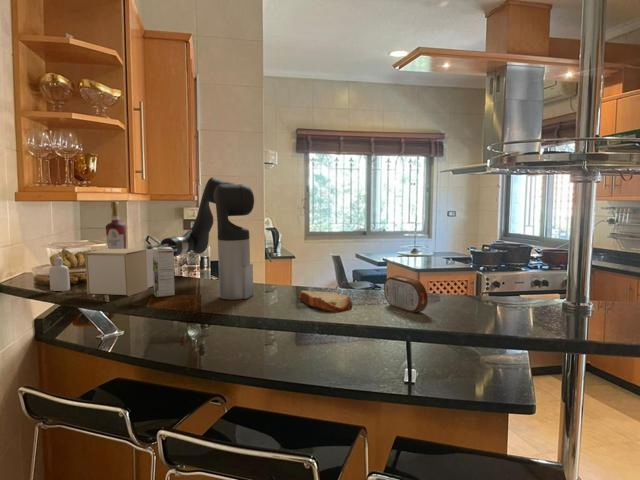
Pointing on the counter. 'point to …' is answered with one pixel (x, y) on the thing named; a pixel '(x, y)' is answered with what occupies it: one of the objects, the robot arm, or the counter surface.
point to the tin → (405, 293)
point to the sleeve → (128, 268)
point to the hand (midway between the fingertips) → (148, 252)
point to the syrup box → (163, 271)
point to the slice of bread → (326, 301)
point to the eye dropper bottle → (59, 276)
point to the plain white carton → (113, 273)
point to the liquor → (116, 230)
